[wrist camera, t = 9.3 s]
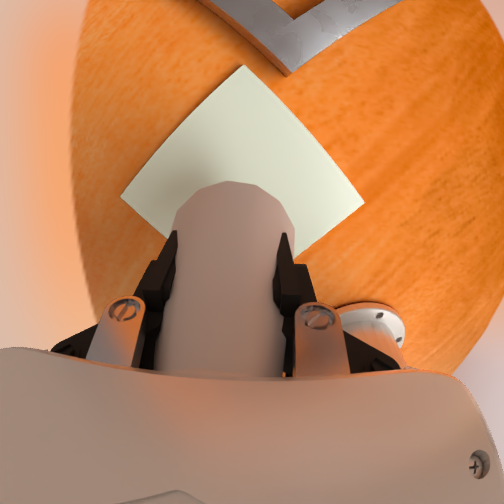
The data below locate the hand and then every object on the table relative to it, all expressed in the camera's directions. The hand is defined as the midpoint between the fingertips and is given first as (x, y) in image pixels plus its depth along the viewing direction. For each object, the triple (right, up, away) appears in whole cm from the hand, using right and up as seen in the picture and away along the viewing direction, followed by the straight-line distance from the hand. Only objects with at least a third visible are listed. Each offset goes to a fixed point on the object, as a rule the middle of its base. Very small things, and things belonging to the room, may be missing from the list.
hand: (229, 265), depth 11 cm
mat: (0, +5, +9) cm, 10 cm away
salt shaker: (0, +2, +4) cm, 4 cm away
